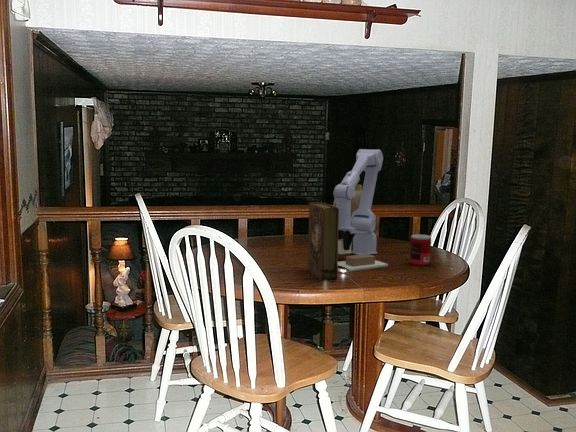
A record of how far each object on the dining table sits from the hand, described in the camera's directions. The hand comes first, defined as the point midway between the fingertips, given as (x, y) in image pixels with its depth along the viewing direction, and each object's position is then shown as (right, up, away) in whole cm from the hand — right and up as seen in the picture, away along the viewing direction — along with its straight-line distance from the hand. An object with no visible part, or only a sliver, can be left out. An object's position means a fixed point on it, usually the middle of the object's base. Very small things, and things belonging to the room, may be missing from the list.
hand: (342, 248), depth 219 cm
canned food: (+30, -6, -4) cm, 31 cm away
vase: (+7, 0, +39) cm, 40 cm away
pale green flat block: (+6, -6, -8) cm, 12 cm away
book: (-10, -8, -23) cm, 26 cm away
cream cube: (0, -2, 0) cm, 2 cm away
